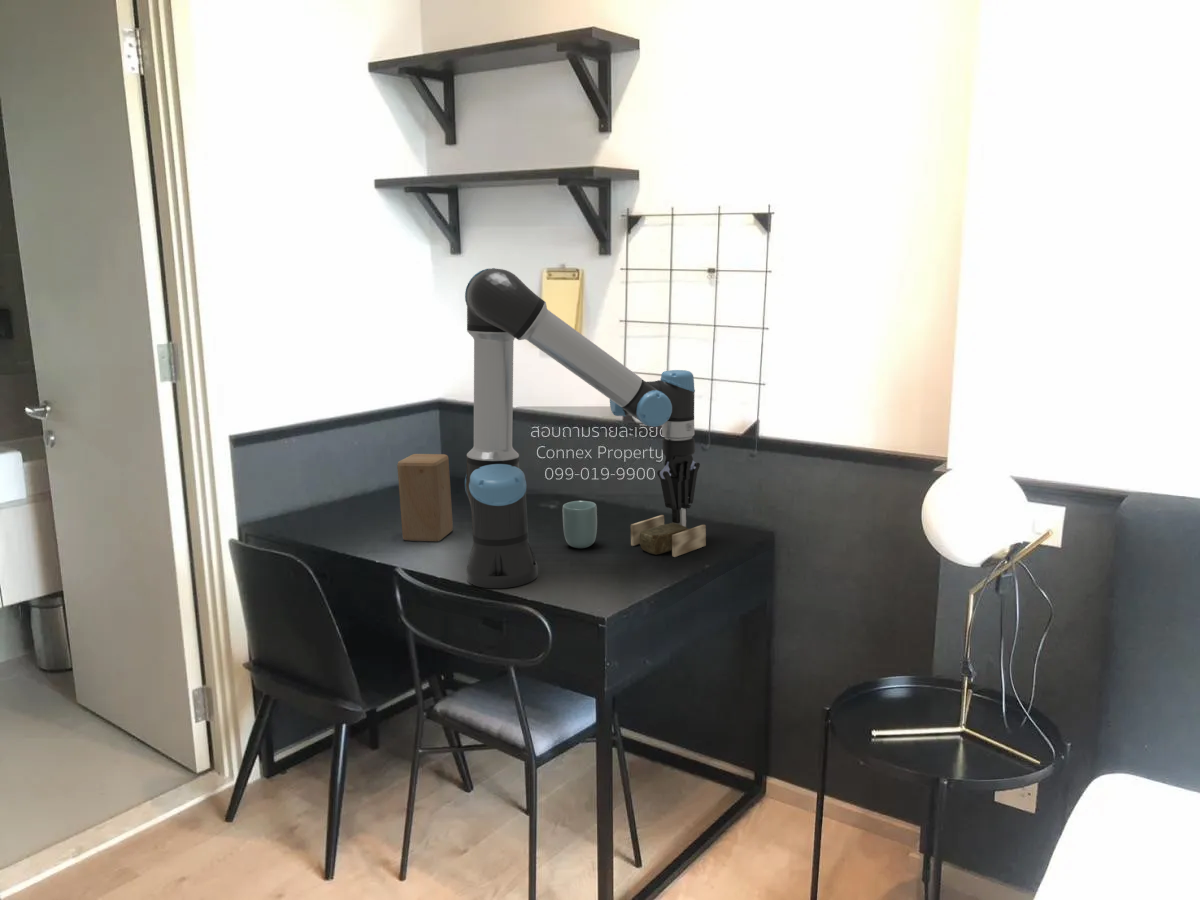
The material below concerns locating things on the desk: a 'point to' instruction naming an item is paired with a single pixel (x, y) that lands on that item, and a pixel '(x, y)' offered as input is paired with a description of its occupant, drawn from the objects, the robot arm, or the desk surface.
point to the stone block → (659, 538)
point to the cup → (580, 523)
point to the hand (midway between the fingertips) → (679, 534)
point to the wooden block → (425, 497)
